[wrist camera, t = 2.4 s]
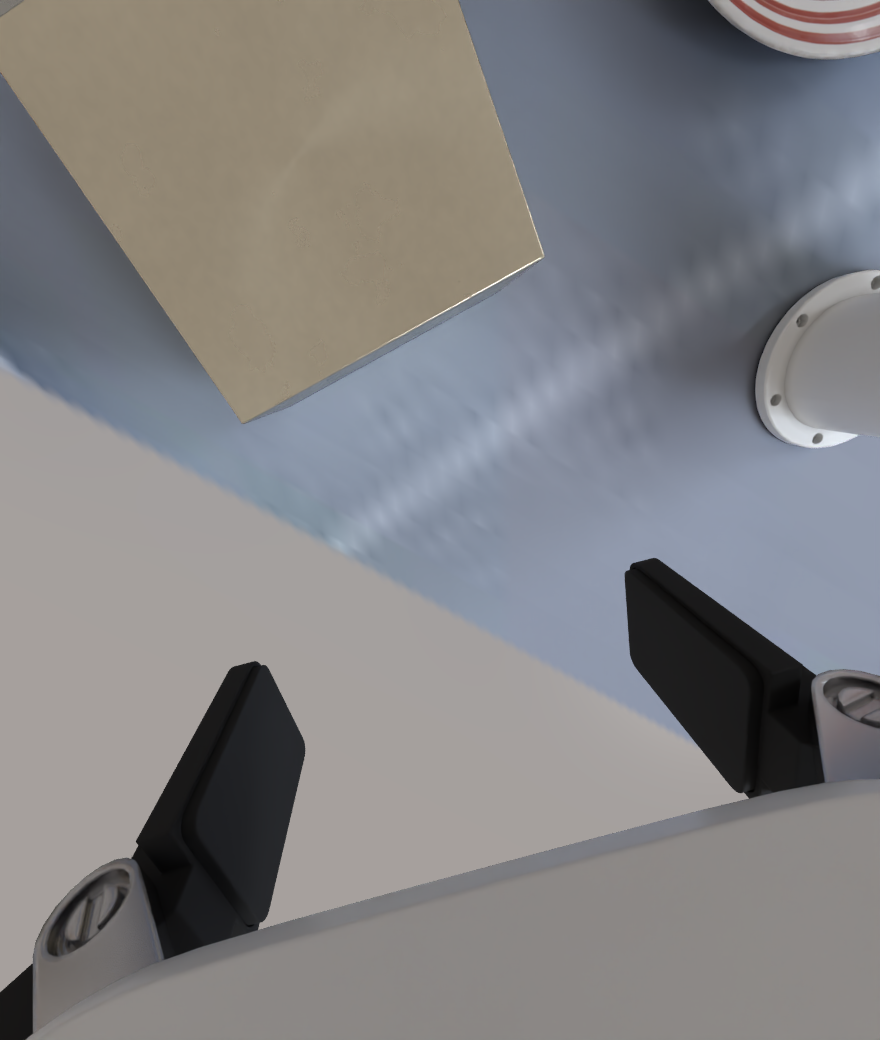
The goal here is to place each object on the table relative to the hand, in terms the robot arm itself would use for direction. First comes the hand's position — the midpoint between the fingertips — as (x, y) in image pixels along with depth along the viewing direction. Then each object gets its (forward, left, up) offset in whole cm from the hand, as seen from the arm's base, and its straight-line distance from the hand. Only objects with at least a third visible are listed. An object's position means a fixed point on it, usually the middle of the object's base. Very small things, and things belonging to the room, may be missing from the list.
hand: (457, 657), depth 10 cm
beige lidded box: (-2, -16, -23) cm, 28 cm away
